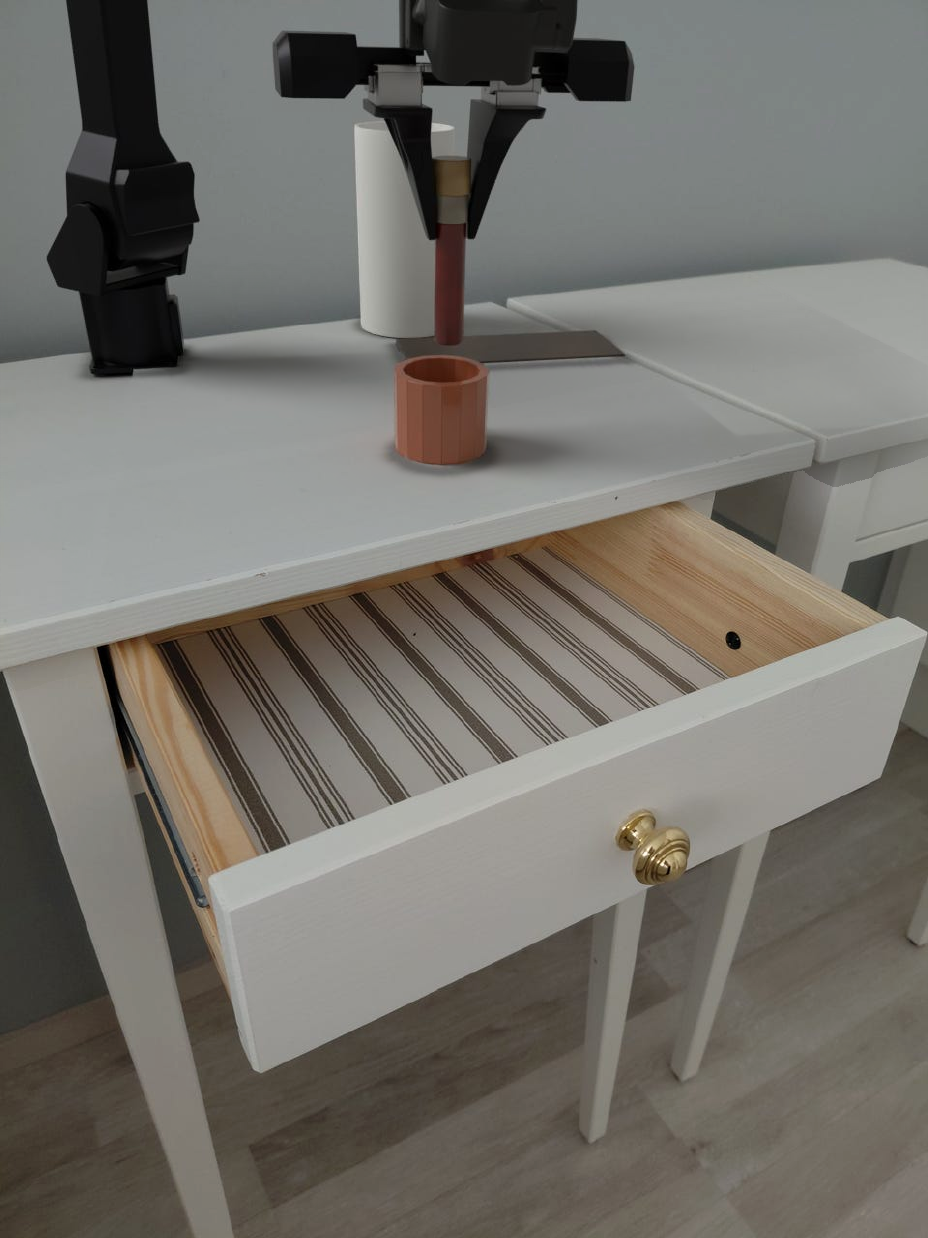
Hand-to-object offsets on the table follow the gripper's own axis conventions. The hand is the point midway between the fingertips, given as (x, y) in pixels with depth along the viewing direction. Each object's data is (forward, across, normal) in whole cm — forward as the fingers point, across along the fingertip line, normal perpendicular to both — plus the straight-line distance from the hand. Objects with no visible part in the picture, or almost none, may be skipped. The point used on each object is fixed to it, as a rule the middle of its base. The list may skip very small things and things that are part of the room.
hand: (450, 238), depth 54 cm
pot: (+13, -1, -2) cm, 13 cm away
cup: (+13, +2, +28) cm, 30 cm away
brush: (+6, 0, 0) cm, 6 cm away
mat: (+13, +9, +18) cm, 24 cm away
